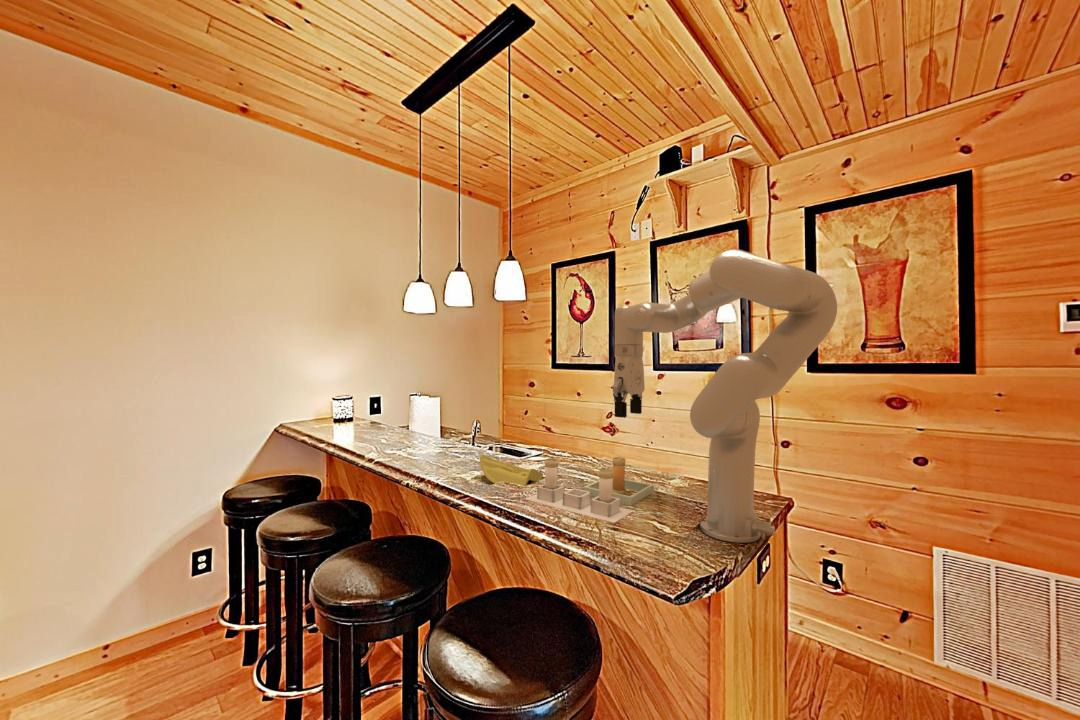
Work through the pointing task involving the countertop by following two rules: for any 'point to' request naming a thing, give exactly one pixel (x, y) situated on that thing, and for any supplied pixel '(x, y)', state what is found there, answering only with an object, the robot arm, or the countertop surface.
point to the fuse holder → (580, 503)
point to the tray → (641, 487)
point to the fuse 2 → (605, 485)
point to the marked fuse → (618, 475)
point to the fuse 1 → (551, 473)
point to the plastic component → (507, 472)
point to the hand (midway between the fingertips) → (628, 415)
